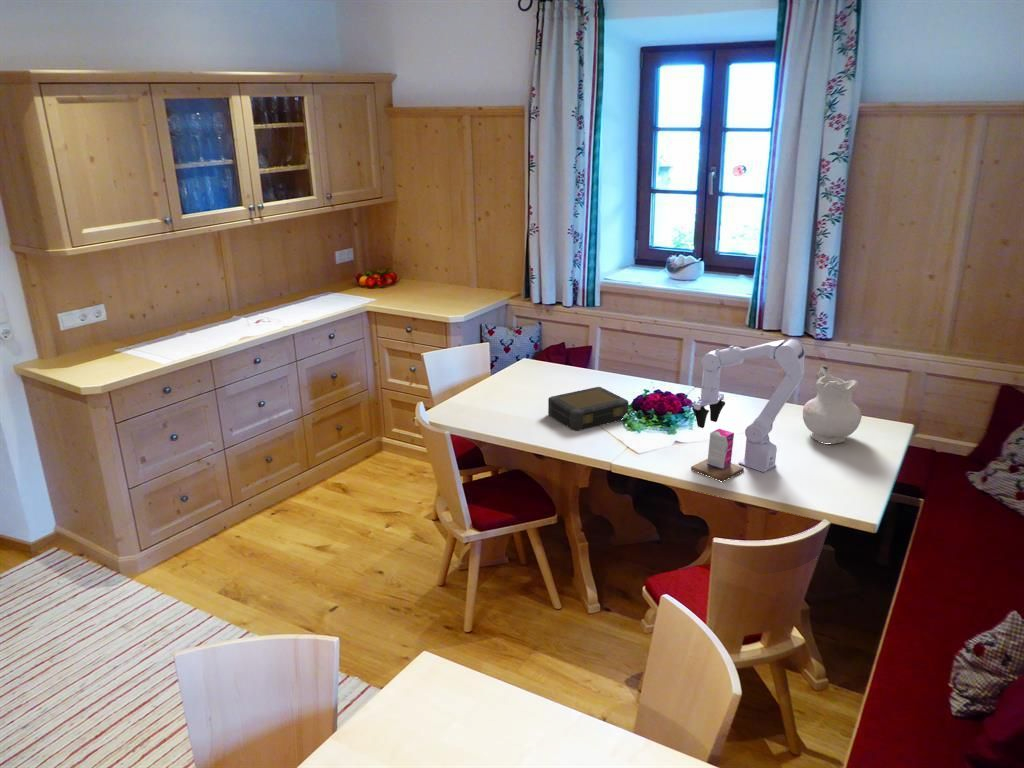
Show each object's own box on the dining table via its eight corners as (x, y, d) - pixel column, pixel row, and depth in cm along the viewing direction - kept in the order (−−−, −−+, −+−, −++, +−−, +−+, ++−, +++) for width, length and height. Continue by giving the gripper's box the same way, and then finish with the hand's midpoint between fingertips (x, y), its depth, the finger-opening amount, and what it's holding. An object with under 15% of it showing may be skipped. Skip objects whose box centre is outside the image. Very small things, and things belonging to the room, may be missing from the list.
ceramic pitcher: (785, 431, 291) (789, 368, 282) (830, 421, 296) (835, 358, 287) (824, 454, 272) (829, 387, 263) (871, 443, 277) (877, 377, 268)
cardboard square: (743, 473, 257) (743, 467, 257) (721, 484, 250) (722, 478, 249) (712, 461, 266) (712, 456, 265) (690, 472, 258) (691, 466, 258)
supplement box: (722, 470, 254) (725, 437, 251) (706, 465, 258) (708, 432, 255) (731, 464, 258) (734, 432, 255) (715, 460, 262) (718, 427, 259)
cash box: (598, 403, 317) (599, 385, 314) (629, 419, 300) (630, 400, 298) (545, 414, 305) (545, 396, 303) (575, 432, 289) (575, 413, 286)
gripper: (712, 378, 271) (709, 415, 275) (687, 388, 261) (684, 426, 266) (730, 383, 266) (727, 420, 270) (705, 393, 256) (702, 432, 261)
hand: (707, 424), depth 268 cm, fingers open, 7 cm apart
